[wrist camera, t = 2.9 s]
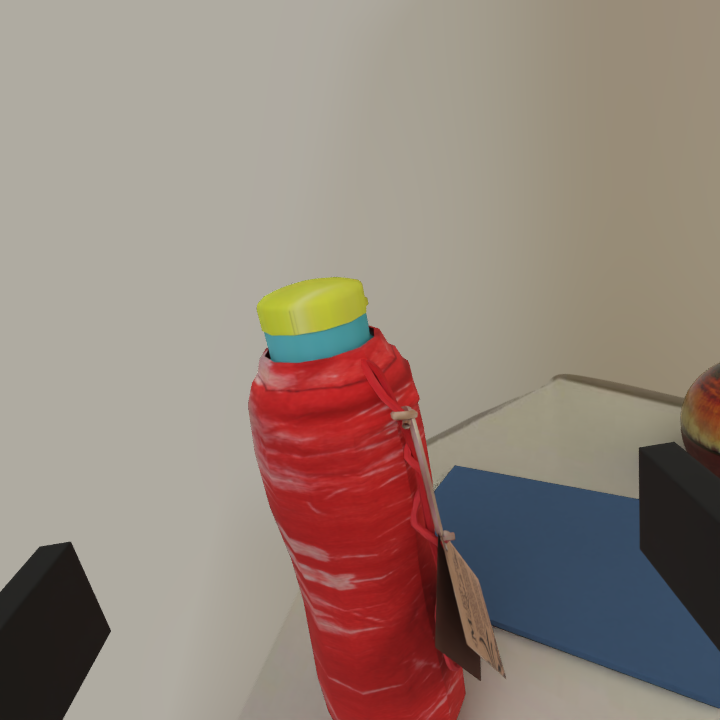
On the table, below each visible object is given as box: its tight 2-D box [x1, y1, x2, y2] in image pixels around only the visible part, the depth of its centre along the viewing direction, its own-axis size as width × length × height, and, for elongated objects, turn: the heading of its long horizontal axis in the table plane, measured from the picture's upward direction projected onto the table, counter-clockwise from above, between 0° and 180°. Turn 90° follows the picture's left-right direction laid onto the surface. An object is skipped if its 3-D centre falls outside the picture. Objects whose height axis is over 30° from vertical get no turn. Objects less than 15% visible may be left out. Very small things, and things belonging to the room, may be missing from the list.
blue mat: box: [434, 466, 720, 708], centre depth 38 cm, size 22×16×1 cm
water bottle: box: [248, 277, 506, 720], centre depth 24 cm, size 12×8×25 cm, turn 45°
